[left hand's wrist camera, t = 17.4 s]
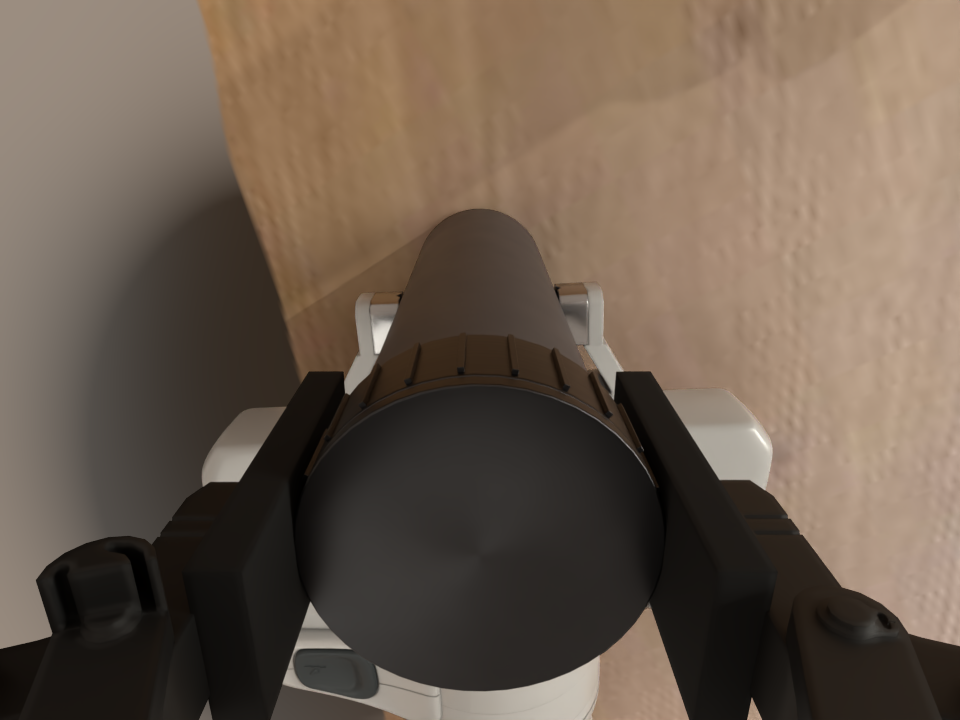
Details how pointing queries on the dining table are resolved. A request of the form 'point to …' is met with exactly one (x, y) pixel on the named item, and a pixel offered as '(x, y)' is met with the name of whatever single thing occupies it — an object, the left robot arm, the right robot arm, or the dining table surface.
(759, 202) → the dining table surface
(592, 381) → the lid
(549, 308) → the dark grey cylinder
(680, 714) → the dining table surface
